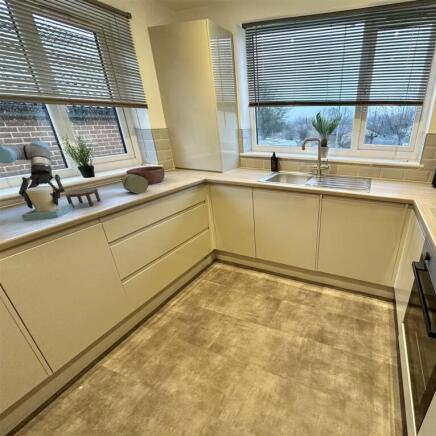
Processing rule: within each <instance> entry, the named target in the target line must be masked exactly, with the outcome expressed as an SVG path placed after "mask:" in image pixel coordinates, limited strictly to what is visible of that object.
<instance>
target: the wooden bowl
mask: <svg viewBox="0 0 436 436" xmlns="http://www.w3.org/2000/svg"><path fill="white" fill-rule="evenodd" d="M125 173H126V175H127V174H133V175H137V176H141V177H144V178H145V179H146V180H147V182H148V186H149V185H154V184H159V183H162V182H163V181H164V180H165V167H164V166H159V165H153V166H140V167H136V168H135V167H134V168H130V169H127V170H126V171H125Z"/></svg>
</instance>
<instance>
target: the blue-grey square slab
mask: <svg viewBox="0 0 436 436" xmlns="http://www.w3.org/2000/svg"><path fill="white" fill-rule="evenodd" d="M72 210H74V208H73V207H72V204H69V203H68V204H66V205H64V206H62V207H60V208H58V210H57V211H54V212H43V213H37V211H36V209H35V208H34V209H31V210H30V211H28V212H24V213H22V214H21V216H22V219H23V221H25V222H27V221H36V220H47V219H55V218H56V219H58V218H59V217H61V216H63V215H65V214H67V213H68V212H70V211H72Z"/></svg>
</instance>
